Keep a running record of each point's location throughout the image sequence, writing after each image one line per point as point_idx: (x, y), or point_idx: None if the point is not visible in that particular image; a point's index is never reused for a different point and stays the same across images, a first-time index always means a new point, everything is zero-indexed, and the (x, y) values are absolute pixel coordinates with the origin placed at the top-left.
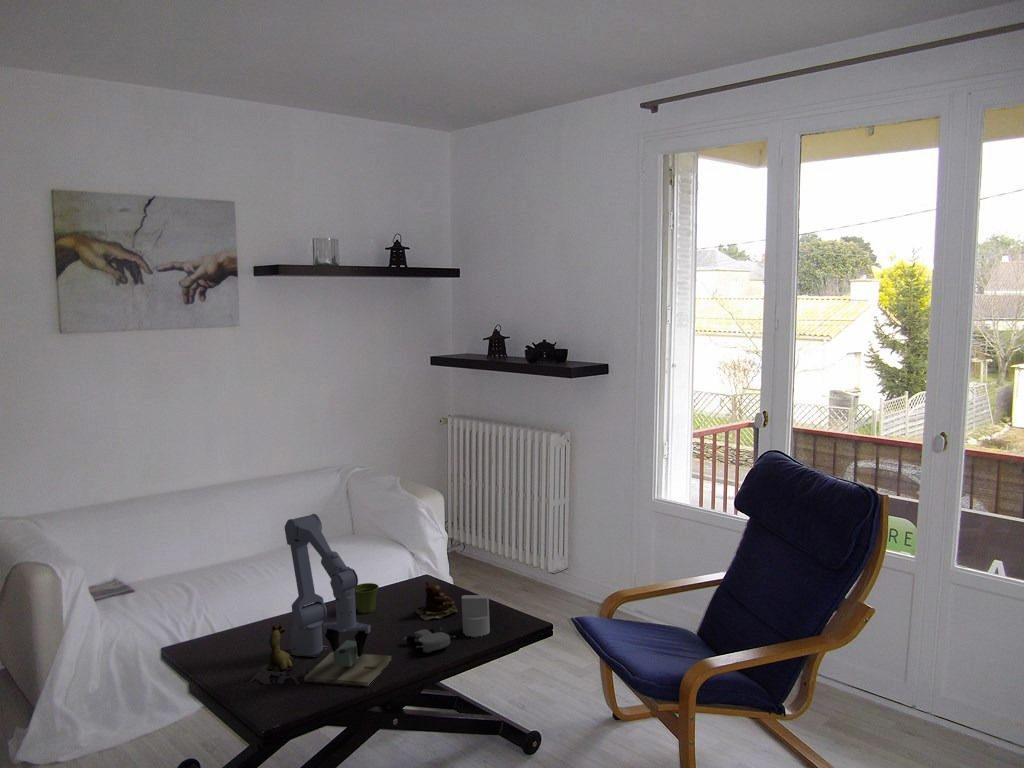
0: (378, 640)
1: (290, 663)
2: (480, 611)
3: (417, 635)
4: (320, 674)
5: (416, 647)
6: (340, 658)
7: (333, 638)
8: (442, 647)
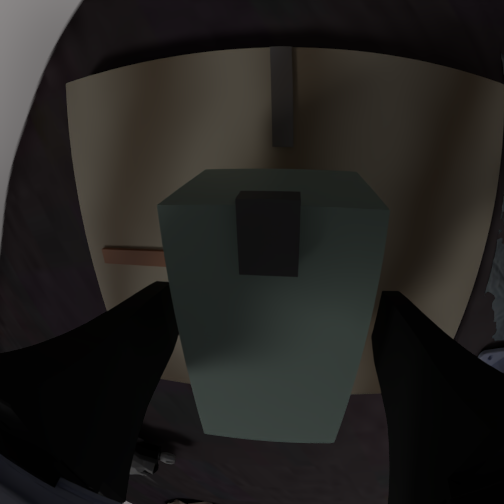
0: (276, 463)
1: None
2: None
3: None
4: (432, 120)
5: None
6: (291, 186)
7: (449, 413)
8: None
